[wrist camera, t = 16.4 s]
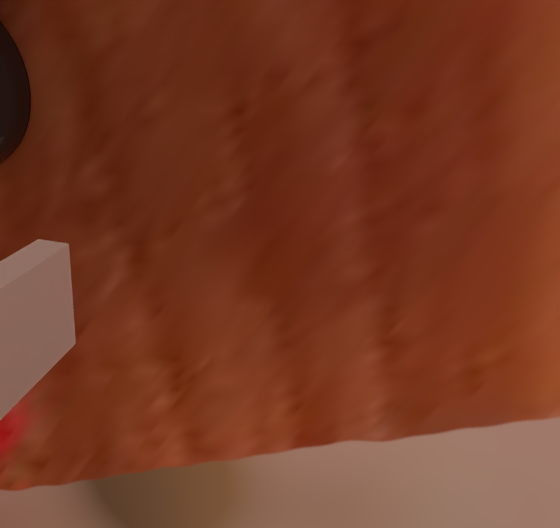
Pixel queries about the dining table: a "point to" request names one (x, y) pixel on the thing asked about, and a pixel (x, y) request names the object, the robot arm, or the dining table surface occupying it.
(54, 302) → the robot arm
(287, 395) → the dining table surface
